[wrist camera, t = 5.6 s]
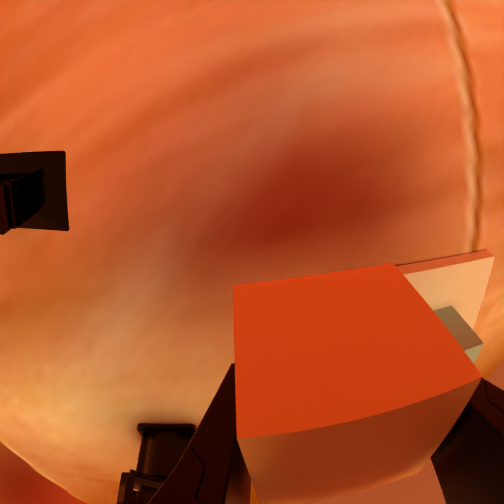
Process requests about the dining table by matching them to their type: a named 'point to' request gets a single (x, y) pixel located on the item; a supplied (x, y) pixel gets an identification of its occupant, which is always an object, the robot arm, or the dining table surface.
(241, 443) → the orange block
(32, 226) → the dark piece
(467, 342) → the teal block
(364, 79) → the dining table surface
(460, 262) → the base plate
